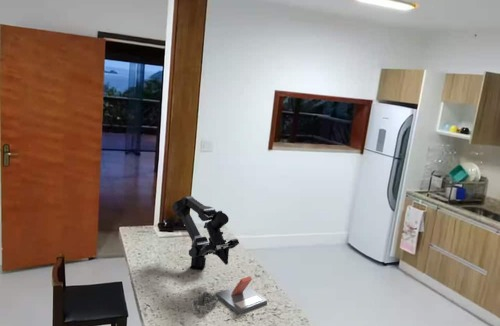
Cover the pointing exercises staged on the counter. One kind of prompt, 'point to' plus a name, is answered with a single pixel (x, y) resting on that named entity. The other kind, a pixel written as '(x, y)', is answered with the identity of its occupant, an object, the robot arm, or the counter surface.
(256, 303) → the base
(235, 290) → the lever
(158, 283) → the counter surface
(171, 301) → the counter surface
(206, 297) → the grey lumpy stone piece
